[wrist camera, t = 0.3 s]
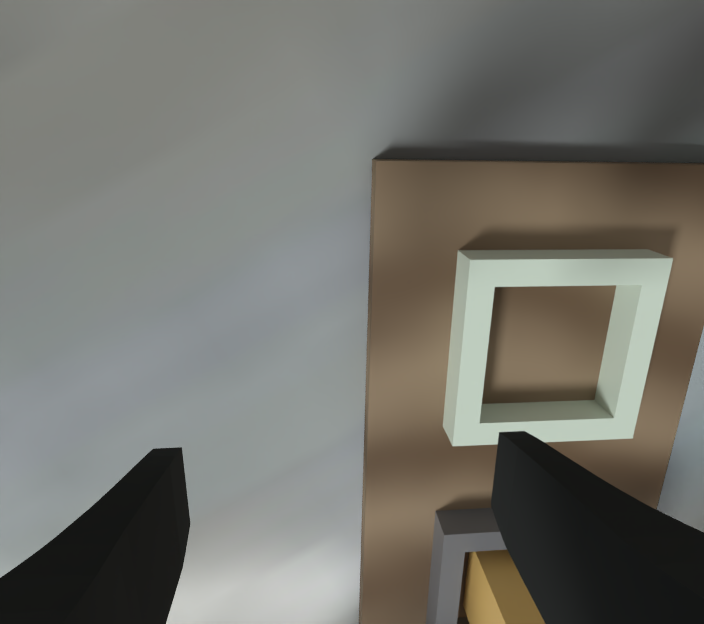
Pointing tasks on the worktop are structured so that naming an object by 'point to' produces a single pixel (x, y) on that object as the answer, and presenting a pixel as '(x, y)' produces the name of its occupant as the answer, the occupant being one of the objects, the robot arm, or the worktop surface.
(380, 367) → the switch board
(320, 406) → the worktop surface
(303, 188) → the worktop surface
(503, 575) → the plug
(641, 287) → the pale green square frame
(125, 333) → the worktop surface
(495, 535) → the grey square frame
